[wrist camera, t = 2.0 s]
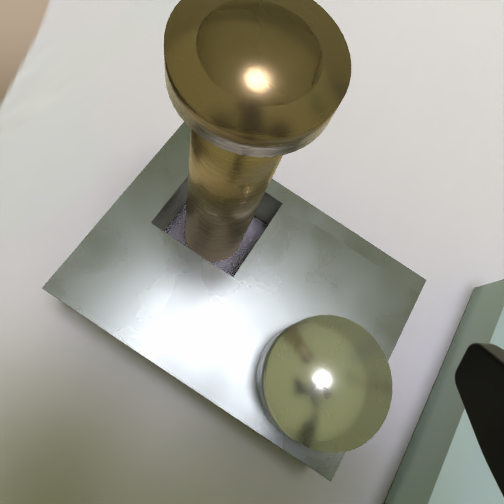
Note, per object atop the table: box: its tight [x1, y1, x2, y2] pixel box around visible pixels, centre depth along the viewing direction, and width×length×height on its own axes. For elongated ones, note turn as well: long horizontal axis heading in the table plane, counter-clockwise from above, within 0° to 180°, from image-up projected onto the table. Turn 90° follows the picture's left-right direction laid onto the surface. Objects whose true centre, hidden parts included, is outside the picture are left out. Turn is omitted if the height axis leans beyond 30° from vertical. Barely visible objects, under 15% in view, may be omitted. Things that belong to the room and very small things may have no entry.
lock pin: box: [164, 0, 351, 261], centre depth 16 cm, size 4×4×13 cm
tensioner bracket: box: [42, 122, 426, 481], centre depth 19 cm, size 10×14×5 cm
